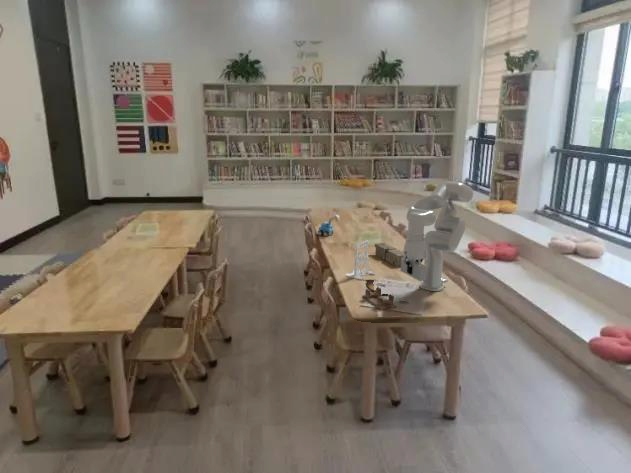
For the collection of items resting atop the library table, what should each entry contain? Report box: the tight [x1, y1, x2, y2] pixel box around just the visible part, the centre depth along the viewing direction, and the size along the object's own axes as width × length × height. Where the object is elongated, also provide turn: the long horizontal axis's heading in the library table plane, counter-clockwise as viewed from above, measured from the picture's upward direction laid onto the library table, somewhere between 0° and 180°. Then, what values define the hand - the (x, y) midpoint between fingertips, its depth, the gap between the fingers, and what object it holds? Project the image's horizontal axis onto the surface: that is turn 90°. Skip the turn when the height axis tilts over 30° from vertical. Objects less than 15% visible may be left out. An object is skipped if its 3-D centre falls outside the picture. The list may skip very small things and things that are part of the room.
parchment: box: [364, 279, 376, 292], centre depth 250 cm, size 25×10×1 cm, turn 14°
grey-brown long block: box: [374, 242, 404, 268], centre depth 299 cm, size 8×8×29 cm
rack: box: [361, 287, 397, 311], centre depth 230 cm, size 8×18×5 cm, turn 26°
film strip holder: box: [344, 239, 376, 281], centre depth 267 cm, size 14×14×20 cm
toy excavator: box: [317, 214, 340, 238], centre depth 355 cm, size 9×17×17 cm, turn 57°
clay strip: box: [400, 258, 427, 282], centre depth 229 cm, size 4×16×7 cm, turn 26°
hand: (413, 272), depth 230 cm, fingers closed on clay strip, 3 cm apart
